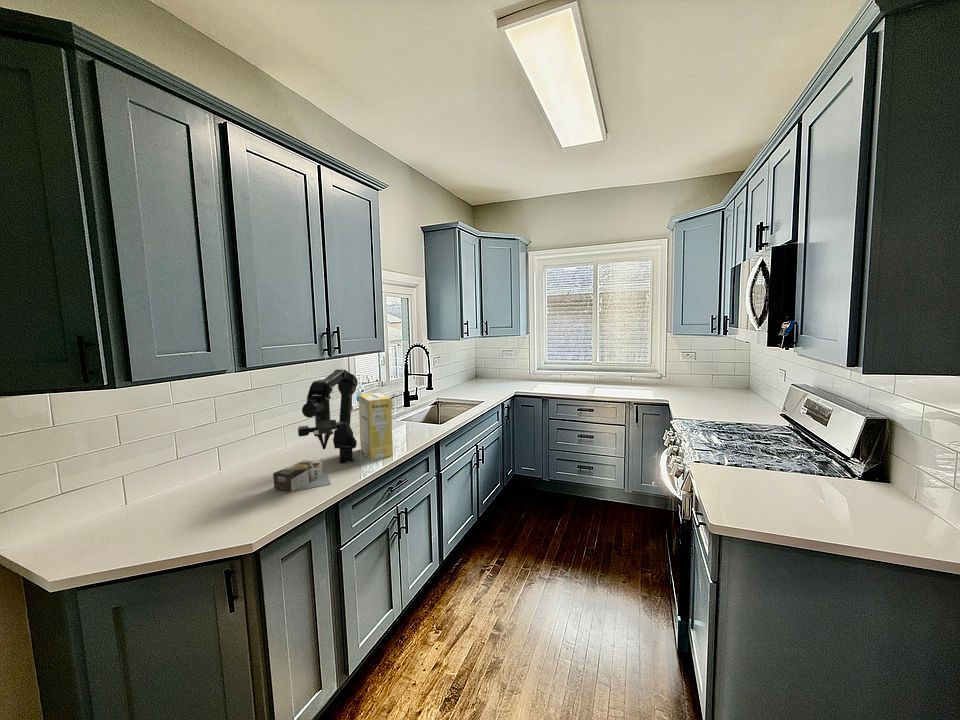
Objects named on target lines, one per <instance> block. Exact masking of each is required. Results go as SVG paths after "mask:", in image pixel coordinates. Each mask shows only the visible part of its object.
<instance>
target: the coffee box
mask: <svg viewBox="0 0 960 720" xmlns="http://www.w3.org/2000/svg"><path fill="white" fill-rule="evenodd" d="M322 465H323V464H322V462H321V461H316V460H309V459H303V460H301V461H299V462H296V463H294V464H292V465H289V466H287V467H285V468H283V469H280V470H278V471H275V472H273V476H272V477H273V489H276V490H280V491H284V492H286V491H290V492H289V493H292V491H293V492H295V491H294V490H296V489H298V488H300V487H302V486H304V485H306V484H308V483H310V482H312V481H314V480H316V479H318V478H320V477H322V470H323V467H322Z"/></svg>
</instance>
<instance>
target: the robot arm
mask: <svg viewBox="0 0 960 720" xmlns="http://www.w3.org/2000/svg"><path fill="white" fill-rule="evenodd" d="M336 385H337V390H338V391H339V393H340V405H339V408H340V409H339V419H338V421H337V419H331V408H330V399H332V397H331V393H332V392H333V390H334V389H333V388H334V387H335V386H336ZM357 386H358V378H357V377H356V376H355V375H354V374H352V373H351V372H349V371H348V370H346V369H335V370H333V372H332V373H330V374H329V375H328V376H326V377H325V378H323V379H317V380H314V381H313V382H312V383H311V384H310V386H309V390H308V394H307V396H306V403H305V404H304V405H302V409H301V412H302V415H303V416H304V417H306V418H309V419H310V418H314V422H315V423H314V425H315V426H314V427H309V425H302V426H301V425H300V426H299V427H297V435H298V437H306V436H308V435H309V434H310V433H313V436H314V437H317V438H318V440H319V443H320V445H321V447H322V450H326V448H327V445H328V442H329V439H330V437H331V435H333V438H332V443H333V446H334V447H333V448H334V449H339V457H338V459H337V460H338V461H339V463H340V464H343V463H350V462H355V461H356V460H355V458H354V457H353V449H355V448H357V442H358V441H357V440H356V438H355V436H354V431H353V430H352V428H351V417H352V416H351V415H352V403H353V402H352V401H353V400H352V399H353V395H354V394H355V392H356V390H357ZM323 434H324V435H323ZM323 436H324V437H323Z"/></svg>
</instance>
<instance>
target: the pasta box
mask: <svg viewBox="0 0 960 720" xmlns="http://www.w3.org/2000/svg"><path fill="white" fill-rule="evenodd" d="M392 413H393V412H392V398H391V397H389V396H387V395H385V394H383V393H381V392H374V393H372V392H371V393H363V394H358V416H359V418H358V419H359V420H358V421H359V436H360V437H359V443H360V451H361V452H363V454H365V455H366V457H367V458H369V459H370V460H371V461H373V460H376V459H383V458H388V456H389V457H393V456H394V451H393V449H394V448H393V447H394V446H393V422H392V419H393V418H392V415H393V414H392Z"/></svg>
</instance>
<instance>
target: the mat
mask: <svg viewBox="0 0 960 720" xmlns="http://www.w3.org/2000/svg"><path fill="white" fill-rule="evenodd" d="M330 485H332V482H331V480H330V478H329V475H328V473H327V470H326V469H325V468H324V469H323V468H322V477H320V478H318V479H316V480H314V481H312V482H310V483H308V484H306V485H304V486H302V487H300V488H298V489H296V490H294V491H292V492H298V491H303V490H309V489H314V488H319V487H325V486H330ZM292 492H290V491H285V493H286V494H287V493H292Z"/></svg>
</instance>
